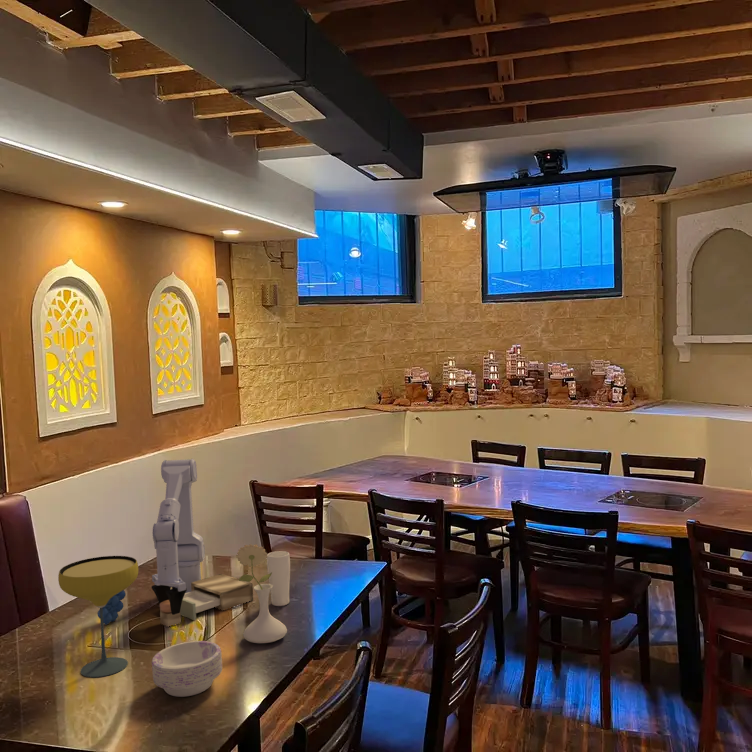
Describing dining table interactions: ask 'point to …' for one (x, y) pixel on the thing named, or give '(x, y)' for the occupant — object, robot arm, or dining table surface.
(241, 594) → the housing
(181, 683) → the paper bowls
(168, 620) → the block
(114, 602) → the grapes
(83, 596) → the cocktail glass
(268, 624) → the flower in vase
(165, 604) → the rounded lump
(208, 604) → the pull-out drawer
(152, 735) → the dining table surface
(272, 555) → the white cylinder
